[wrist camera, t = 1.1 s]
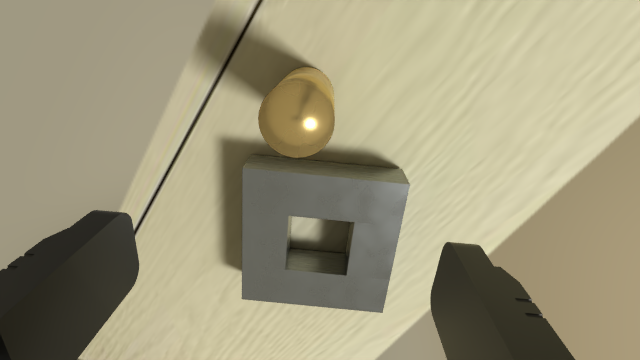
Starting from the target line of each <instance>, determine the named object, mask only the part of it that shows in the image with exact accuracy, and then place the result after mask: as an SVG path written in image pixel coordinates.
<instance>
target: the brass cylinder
mask: <svg viewBox="0 0 640 360" xmlns="http://www.w3.org/2000/svg"><path fill="white" fill-rule="evenodd" d="M258 120H259V128H260V131H261V134H262V136H263V138H264V139H265V141H266V142H267V143H268V145H269V146H270V147H271V148H273V149H274V150H275V151H277V152H278V153H280V154H283V155H285V156H288V157H294V158H301V157H307V156H310V155H313V154H315V153H317V152H318V151H320V150H321V149H322V148H323V147H324V146H325V145H326V144H327V143H328V141H329V140H330V138H331V136H332V133H333V130H334V122H335V117H334V91H333V87H332V84H331V82H330V80H329V79H328V77H327V76H326V75H325V74H324V73H323V72H321V71H319V70H317V69H315V68H311V67H301V68H298V69H295V70H293V71H292V72H290V73H289V74H288V75H287V76H286V77H285V78H284V79H283V80H282V81H281V82H280V83H279V84H278V85H277V86H276V87H275V88H274V89H273V90H272V91H271V92H270V93H269V94H268V95H267V96H266V97H265V99H264V100H263V102H262V104H261V107H260V110H259V117H258Z"/></svg>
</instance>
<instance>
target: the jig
mask: <svg viewBox="0 0 640 360" xmlns="http://www.w3.org/2000/svg"><path fill="white" fill-rule="evenodd" d="M409 186H410V184H409V182H408V180H407V178H406V176H405V174H404V172H403V170H402V169H395V168H385V167H375V166H365V165H355V164H344V163H334V162H324V161H314V160H304V159H294V158H284V157H274V156H264V155H254V154H251V156H250V157H249V159H248V160H247V162H246V163H245V165H244V166H243V168H242V299H246V300H256V301H266V302H277V303H287V304H297V305H307V306H318V307H328V308H338V309H348V310H359V311H369V312H379V313H383V308H384V303H385V299H386V294H387V289H388V285H389V280H390V275H391V271H392V266H393V261H394V257H395V252H396V247H397V242H398V238H399V233H400V228H401V224H402V219H403V214H404V210H405V205H406V200H407V196H408V191H409ZM292 216H297V217H307V218H317V219H327V220H337V221H348V222H350V225H349V232H348V239H347V246H346V253H345V254H342V253H331V252H321V251H311V250H301V249H291V248H289V247H290V233H291V218H292Z"/></svg>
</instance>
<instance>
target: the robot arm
mask: <svg viewBox="0 0 640 360" xmlns="http://www.w3.org/2000/svg"><path fill="white" fill-rule="evenodd" d="M138 272H139V260H138V254H137V248H136V242H135V236H134V230H133V224H132V219H131V217H130V216H129V215H128V214H127V213H122V212H109V211H98V210H94V211H92V212H90V213H89V214H87V215H86V216H84V217H83V218H82V219H80V220H79V221H78V222H76V223H75V224H74V225H73V226H71V227H70V228H67V229H65V230H63V231H61V232H59V233H56V234H54V235H52V236H50V237H48V238H45V239H43V240H42V241H41V242H39V243H38V244H36V245H35V246H34V247H32V248H31V249H30V250H28V251H27V252H26V253H25V254H24V256H20V257H19V258H17V259H16V260H15V261H13V262H12V263H11V264H9V265H8V268H7V269H2V270H1V271H0V360H77V359H78V357H79V356H80V355H81V353H82V352H83V351H84V350H85V348H86V347H87V346H88V344H89V343H90V342H91V340H92V339H93V338H94V337H95V335H96V334H97V333H98V331H99V330H100V329H101V328H102V326H103V325H104V324H105V322H106V321H107V320H108V319H109V317H110V316H111V315H112V313H113V312H114V311H115V309H116V308H117V307H118V306H119V304H120V303H121V302H122V300H123V299H124V298H125V297H126V295H127V294H128V293H129V291H130V290H131V289H132V287H133V286H134V284H135V282H136V279H137V276H138ZM431 311H432V316H433V319H434V322H435V325H436V328H437V331H438V334H439V336H440V339H441V343H442V345H443V348H444V351H445V354H446V357H447V360H575V359H574V357H573V356H572V355H571V353H570V352H569V351H568V349H567V348H566V346H565V345H564V344H563V342H562V341H561V339H560V338H559V337H558V335H557V334H556V333H555V331H554V330H553V328H552V327H551V326H550V324H549V323H548V321H547V320H546V319H545V318H543V317H542V313H541V312H540V310H539V309H538V308H537V306H536V305H535V304H534V303H532V300H531V298H530V296H529V295H528V294H527V292H526V291H525V290H524V288H523V287H522V285H521V284H520V282H518V281H517V280H516V279H515V278H513V277H512V276H511V275H510V274H508V273H507V272H506V271H505V270H503V269H502V268H501V267H494V266H493V265H492V263H491V261H490V260H489V258H488V257H487V255H486V254H485V252H484V251H483V249H482V248H481V247H480V246H479V245H475V244H464V243H452V242H447V243H446V244H445V245H444V247H443V249H442V253H441V256H440V260H439V264H438V268H437V271H436V275H435V279H434V282H433V286H432V290H431Z"/></svg>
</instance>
